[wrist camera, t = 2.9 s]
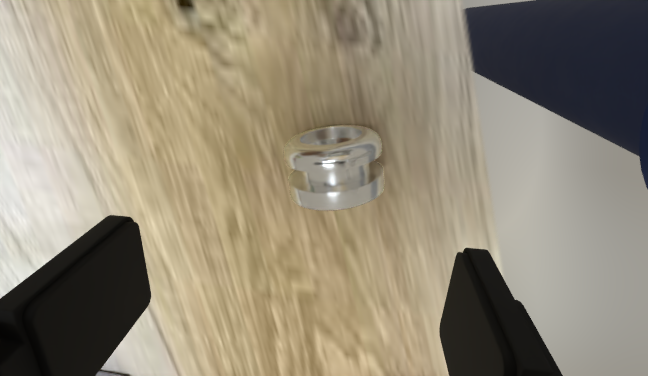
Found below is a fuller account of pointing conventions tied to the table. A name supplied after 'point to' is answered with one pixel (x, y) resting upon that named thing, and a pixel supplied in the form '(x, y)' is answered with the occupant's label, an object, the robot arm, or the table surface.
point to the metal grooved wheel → (334, 167)
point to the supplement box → (106, 374)
